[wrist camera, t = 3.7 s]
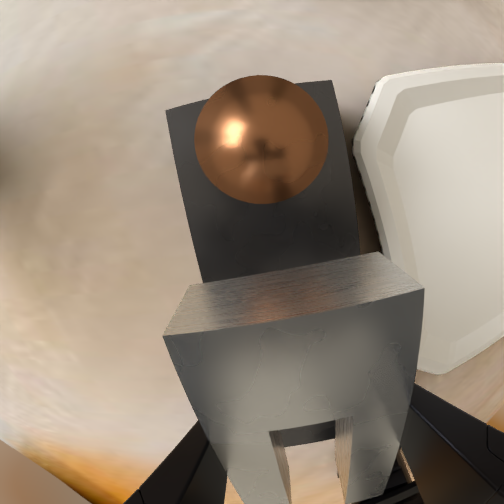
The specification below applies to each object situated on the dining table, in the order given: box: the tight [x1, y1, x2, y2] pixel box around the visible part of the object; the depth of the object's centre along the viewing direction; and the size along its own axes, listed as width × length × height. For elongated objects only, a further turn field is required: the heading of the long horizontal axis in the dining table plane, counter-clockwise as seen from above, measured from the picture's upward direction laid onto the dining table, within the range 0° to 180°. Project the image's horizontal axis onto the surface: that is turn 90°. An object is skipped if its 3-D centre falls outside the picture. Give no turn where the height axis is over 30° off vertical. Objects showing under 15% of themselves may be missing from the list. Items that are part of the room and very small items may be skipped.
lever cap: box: [163, 252, 425, 504], centre depth 7 cm, size 9×5×2 cm, turn 11°
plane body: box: [166, 75, 360, 447], centre depth 13 cm, size 20×7×8 cm, turn 11°
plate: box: [352, 63, 504, 375], centre depth 15 cm, size 21×21×2 cm
